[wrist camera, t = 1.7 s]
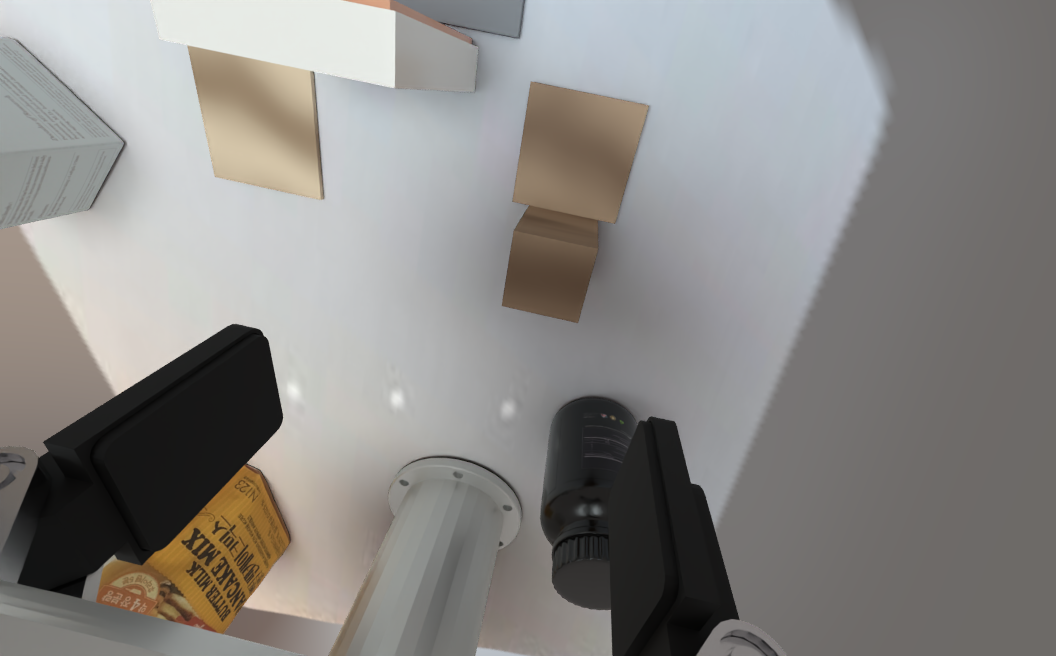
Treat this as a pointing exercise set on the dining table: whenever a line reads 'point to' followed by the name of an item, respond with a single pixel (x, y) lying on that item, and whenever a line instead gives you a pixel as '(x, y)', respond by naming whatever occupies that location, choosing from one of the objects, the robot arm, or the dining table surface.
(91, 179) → the supplement box
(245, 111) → the pad
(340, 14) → the tile
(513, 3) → the mat
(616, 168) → the wooden block stack
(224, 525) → the pancake mix bag
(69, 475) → the robot arm
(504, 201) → the dining table surface
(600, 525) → the supplement bottle
